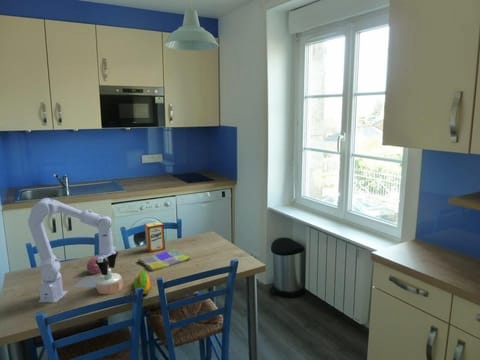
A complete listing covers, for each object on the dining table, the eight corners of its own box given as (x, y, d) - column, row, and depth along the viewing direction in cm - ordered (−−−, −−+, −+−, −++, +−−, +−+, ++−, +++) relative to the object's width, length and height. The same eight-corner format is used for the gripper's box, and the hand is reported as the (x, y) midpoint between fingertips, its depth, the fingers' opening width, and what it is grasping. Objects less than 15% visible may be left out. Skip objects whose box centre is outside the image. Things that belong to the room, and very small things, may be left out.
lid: (112, 286, 159) (112, 275, 158) (90, 284, 161) (89, 273, 160) (125, 275, 170) (124, 265, 169) (103, 273, 172) (102, 263, 171)
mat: (97, 288, 167) (97, 287, 167) (72, 288, 168) (72, 287, 168) (108, 277, 179) (108, 276, 178) (85, 276, 179) (85, 276, 179)
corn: (134, 283, 155) (133, 265, 174) (134, 299, 156) (133, 280, 175) (151, 281, 157) (149, 264, 176) (151, 298, 158) (148, 278, 177)
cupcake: (82, 274, 182) (91, 273, 174) (84, 257, 185) (93, 256, 176) (99, 274, 188) (109, 273, 180) (101, 257, 190) (110, 256, 182)
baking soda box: (149, 252, 210) (147, 226, 207) (146, 249, 216) (144, 223, 213) (165, 249, 214) (163, 223, 211) (162, 246, 220) (160, 221, 217)
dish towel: (191, 261, 198) (191, 256, 197) (149, 273, 184) (148, 268, 183) (176, 251, 212) (176, 247, 211) (136, 262, 197) (136, 257, 197)
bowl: (116, 294, 161) (115, 285, 160) (93, 294, 162) (92, 285, 161) (125, 283, 171) (124, 275, 170) (104, 283, 172) (103, 274, 171)
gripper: (107, 248, 155) (110, 278, 157) (121, 237, 169) (123, 264, 172) (91, 248, 155) (94, 277, 158) (106, 237, 170) (108, 264, 172)
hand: (108, 271), depth 165 cm, fingers open, 7 cm apart
